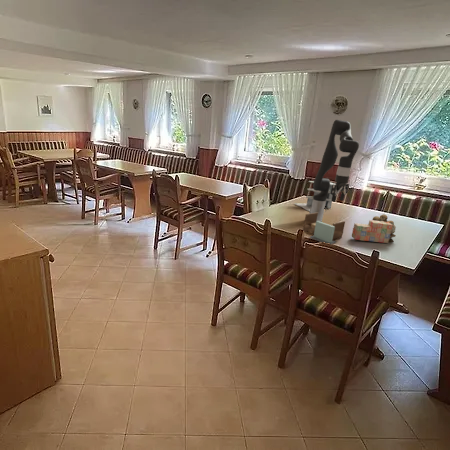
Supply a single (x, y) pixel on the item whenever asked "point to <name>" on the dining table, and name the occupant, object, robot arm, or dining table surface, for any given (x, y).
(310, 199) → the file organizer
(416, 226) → the dining table surface
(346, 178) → the robot arm
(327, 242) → the pad
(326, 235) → the panel
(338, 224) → the rack
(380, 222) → the stack of blocks
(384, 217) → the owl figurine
